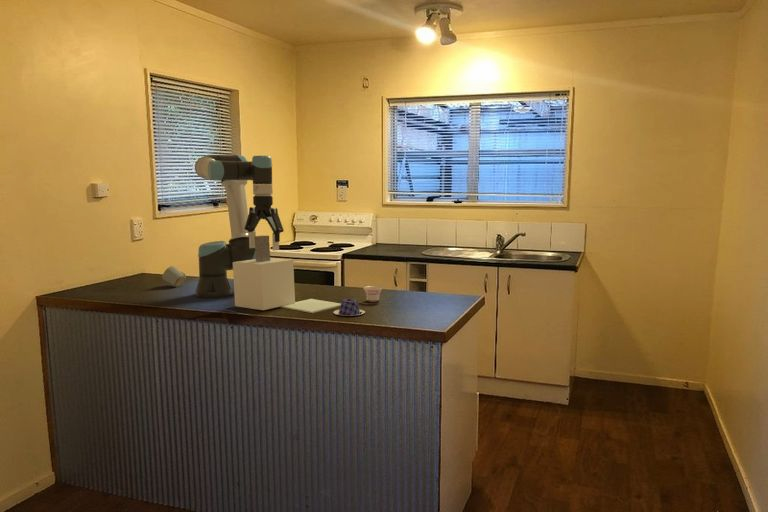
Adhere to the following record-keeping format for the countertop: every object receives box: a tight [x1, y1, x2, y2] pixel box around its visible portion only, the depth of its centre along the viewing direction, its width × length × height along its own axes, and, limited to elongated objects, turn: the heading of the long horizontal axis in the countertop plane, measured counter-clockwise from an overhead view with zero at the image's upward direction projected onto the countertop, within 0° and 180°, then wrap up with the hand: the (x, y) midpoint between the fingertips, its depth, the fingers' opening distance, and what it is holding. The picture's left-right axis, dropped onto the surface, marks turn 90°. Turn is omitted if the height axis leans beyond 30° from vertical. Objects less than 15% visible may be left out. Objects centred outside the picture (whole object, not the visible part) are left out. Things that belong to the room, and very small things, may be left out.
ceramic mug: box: [161, 265, 187, 288], centre depth 282 cm, size 11×8×8 cm
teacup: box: [359, 285, 383, 305], centre depth 246 cm, size 12×12×6 cm
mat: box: [279, 298, 341, 314], centre depth 238 cm, size 18×18×1 cm
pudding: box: [333, 298, 366, 317], centre depth 226 cm, size 12×12×5 cm
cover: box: [232, 235, 296, 311], centre depth 238 cm, size 17×17×28 cm
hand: (264, 249), depth 237 cm, fingers open, 13 cm apart
